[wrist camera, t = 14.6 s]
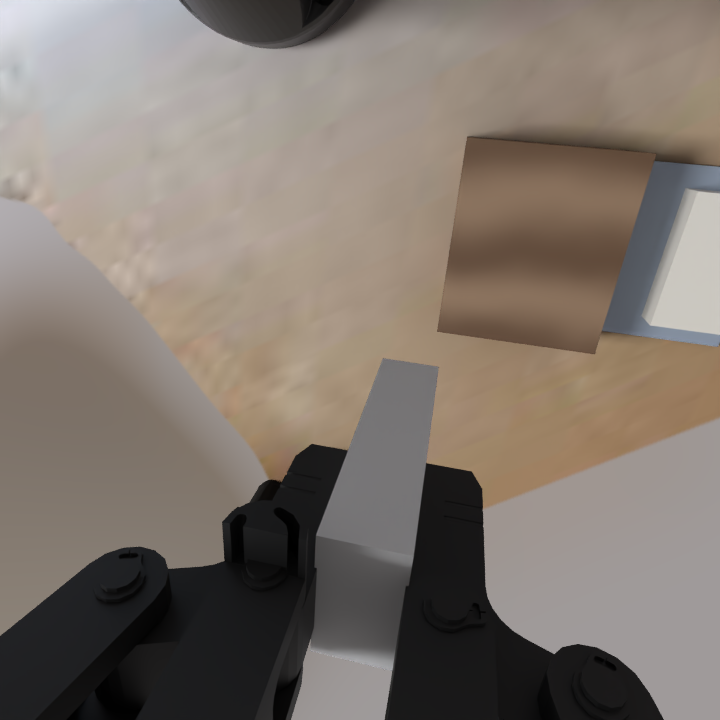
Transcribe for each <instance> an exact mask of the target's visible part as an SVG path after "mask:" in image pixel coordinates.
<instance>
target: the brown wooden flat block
mask: <svg viewBox="0 0 720 720" xmlns="http://www.w3.org/2000/svg"><path fill="white" fill-rule="evenodd" d="M655 157H656V154H654V153H647V152H639V151H630V150H618V149H606V148H595V147H583V146H571V145H559V144H548V143H536V142H524V141H513V140H501V139H489V138H478V137H467V141H466V148H465V154H464V161H463V167H462V174H461V180H460V187H459V193H458V200H457V206H456V213H455V219H454V226H453V232H452V239H451V245H450V252H449V258H448V265H447V271H446V278H445V284H444V291H443V297H442V304H441V310H440V317H439V323H438V330H437V332H443V333H450V334H457V335H464V336H471V337H478V338H485V339H492V340H499V341H506V342H513V343H520V344H527V345H534V346H541V347H548V348H555V349H562V350H569V351H576V352H583V353H590V354H595V351H596V348H597V345H598V341H599V338H600V335H601V332H602V329H603V325H604V322H605V319H606V316H607V312H608V309H609V306H610V303H611V299H612V296H613V293H614V290H615V287H616V283H617V280H618V277H619V274H620V270H621V267H622V264H623V261H624V257H625V254H626V251H627V248H628V244H629V241H630V238H631V235H632V232H633V228H634V225H635V222H636V219H637V215H638V212H639V209H640V206H641V202H642V199H643V196H644V193H645V190H646V186H647V183H648V180H649V177H650V173H651V170H652V167H653V164H654V160H655Z"/></svg>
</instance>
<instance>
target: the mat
mask: <svg viewBox="0 0 720 720" xmlns="http://www.w3.org/2000/svg"><path fill="white" fill-rule="evenodd" d="M685 188H691V189H701V190H711V191H720V167H717V166H705V165H694V164H683V163H671V162H660V161H654V164H653V167H652V170H651V173H650V177H649V180H648V183H647V186H646V190H645V193H644V196H643V199H642V202H641V206H640V209H639V212H638V215H637V219H636V222H635V225H634V228H633V232H632V235H631V238H630V241H629V244H628V248H627V251H626V254H625V257H624V261H623V264H622V267H621V270H620V274H619V277H618V280H617V283H616V287H615V290H614V293H613V296H612V299H611V303H610V306H609V309H608V312H607V316H606V319H605V322H604V325H603V329H602V331H607V332H614V333H621V334H629V335H636V336H643V337H651V338H658V339H665V340H673V341H680V342H687V343H695V344H702V345H709V346H717V347H718V345H719V343H720V335H717V334H709V333H702V332H695V331H687V330H680V329H673V328H665V327H658V326H650V325H649V324H648V323H647V322H646V320H645V319H644V318H643V317H642V316H641V315H642V313H643V310H644V307H645V304H646V301H647V298H648V295H649V292H650V289H651V286H652V284H653V281H654V278H655V275H656V272H657V269H658V266H659V263H660V260H661V258H662V255H663V252H664V249H665V246H666V243H667V240H668V237H669V234H670V231H671V229H672V226H673V223H674V220H675V217H676V214H677V211H678V208H679V205H680V203H681V200H682V197H683V194H684V191H685Z"/></svg>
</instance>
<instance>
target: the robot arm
mask: <svg viewBox="0 0 720 720" xmlns="http://www.w3.org/2000/svg"><path fill="white" fill-rule="evenodd" d="M179 1H180V2H181V3H182V4H183V5H184V6H185V7H186V9H187V10H188V11H190V12H191V13H192V14H193V15H194V16H195V17H196V18H197V19H199V20H200V21H201V22H202V23H203V24H205V25H206V26H208V27H209V28H211V29H212V30H214V31H216V32H217V33H219V34H221V35H223V36H225V37H228V38H230V39H233V40H235V41H238V42H241V43H243V44H246V45H250V46H254V47H259V48H270V49H276V48H286V47H291V46H295V45H298V44H301V43H304V42H306V41H309V40H311V39H313V38H315V37H316V36H318V35H320V34H321V33H323V32H324V31H326V30H327V29H328V28H330V27H331V26H332V25H333V24H334V23H335V22H337V21H338V20H339V19H340V18H341V17H342V16H343V14H344V13H345V12H346V11H347V10H348V9H349V7H350V6H351V5H352V3H353V2H354V1H355V0H179ZM438 368H439V367H437V366H430V365H424V364H417V363H410V362H404V361H397V360H391V359H384V358H383V360H382V362H381V365H380V368H379V370H378V373H377V376H376V378H375V381H374V384H373V386H372V389H371V391H370V394H369V397H368V399H367V402H366V405H365V407H364V410H363V413H362V415H361V418H360V421H359V423H358V426H357V428H356V431H355V434H354V436H353V439H352V442H351V444H350V447H349V450H348V451H347V450H342V449H337V448H331V447H326V446H320V445H315V444H311V445H310V446H309V447H307V448H306V449H304V450H303V451H302V452H300V453H299V454H298V455H296V456H295V458H294V460H293V462H292V464H291V466H290V468H289V470H288V471H287V475H285V477H284V479H283V481H282V483H281V485H280V488H278V490H277V492H276V494H275V496H274V498H273V500H272V501H269V500H261V501H257V502H252V503H247V504H245V505H244V506H241V507H239V508H237V509H236V510H234V511H232V512H231V513H230V514H229V515H228V517H227V518H226V519H225V520H224V521H223V522H222V525H223V540H224V541H223V542H224V559H225V561H224V562H220V563H217V564H215V565H209V566H203V567H192V568H178V569H177V568H176V569H168V568H167V564H166V561H165V559H164V558H163V557H162V556H161V555H160V554H158V553H157V552H156V551H154V550H151V549H147V548H143V547H130V548H122V549H118V550H116V551H112V552H109V553H107V554H104V555H103V556H101V557H100V558H98V559H97V560H95V561H93V562H92V563H90V564H89V565H87V566H86V567H85V568H84V569H82V570H81V571H80V572H79V573H78V574H76V575H75V576H74V577H73V578H71V579H70V580H69V581H68V582H66V583H65V584H64V585H63V586H61V587H60V588H59V589H58V590H57V591H55V592H54V593H53V594H52V595H50V596H49V597H48V598H47V599H45V600H44V601H43V602H42V603H41V604H39V605H38V606H37V607H36V608H35V609H33V610H32V611H31V612H29V613H28V614H27V615H26V616H25V617H23V618H22V619H21V620H19V621H18V622H17V623H16V624H15V625H13V626H12V627H11V628H10V629H8V630H7V631H6V632H5V633H3V634H2V635H1V636H0V720H291V717H292V714H293V711H294V707H295V704H296V700H297V697H298V694H299V690H300V687H301V682H302V673H303V661H304V658H305V655H306V651H307V648H308V645H309V642H310V639H311V648H310V651H313V652H317V653H321V654H325V655H329V656H333V657H337V658H342V659H346V660H350V661H353V662H358V663H362V664H366V665H370V666H374V667H378V668H382V669H386V670H390V671H392V678H391V685H390V691H389V697H388V703H387V709H386V715H385V720H664V719H663V717H662V715H661V714H660V712H659V710H658V708H657V706H656V704H655V702H654V701H653V699H652V697H651V695H650V693H649V692H648V690H647V689H646V688H645V686H644V685H643V684H642V682H641V681H640V679H639V678H638V677H637V675H636V674H635V673H634V672H633V671H632V670H631V669H629V668H628V667H627V666H626V665H625V664H624V663H622V662H621V661H620V660H619V659H618V658H616V657H614V656H612V655H610V654H608V653H607V652H605V651H602V650H600V649H598V648H596V647H590V646H585V645H580V644H576V645H571V646H566V647H562V648H561V649H560V650H559V651H558V652H556V653H555V654H553V653H551V652H549V651H547V650H545V649H543V648H541V647H540V646H538V645H536V644H534V643H532V642H530V641H528V640H526V639H525V638H523V637H522V636H520V635H518V634H517V633H515V632H514V631H512V630H511V629H510V628H509V627H508V626H507V625H506V624H505V623H504V622H503V621H501V619H500V618H499V617H498V615H497V614H496V613H495V611H494V610H493V609H492V606H491V604H490V602H489V600H488V598H487V593H486V587H485V560H484V530H483V511H482V509H483V499H482V488H481V486H480V485H479V483H478V481H477V480H476V478H475V476H474V475H473V473H472V472H471V471H466V470H460V469H455V468H449V467H444V466H438V465H433V464H427V463H426V459H427V451H428V444H429V436H430V429H431V421H432V414H433V406H434V398H435V391H436V383H437V376H438Z"/></svg>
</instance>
